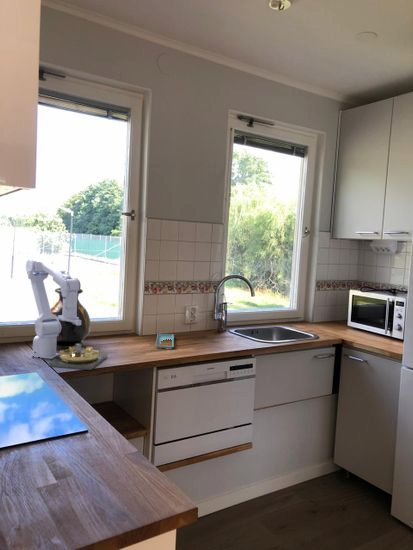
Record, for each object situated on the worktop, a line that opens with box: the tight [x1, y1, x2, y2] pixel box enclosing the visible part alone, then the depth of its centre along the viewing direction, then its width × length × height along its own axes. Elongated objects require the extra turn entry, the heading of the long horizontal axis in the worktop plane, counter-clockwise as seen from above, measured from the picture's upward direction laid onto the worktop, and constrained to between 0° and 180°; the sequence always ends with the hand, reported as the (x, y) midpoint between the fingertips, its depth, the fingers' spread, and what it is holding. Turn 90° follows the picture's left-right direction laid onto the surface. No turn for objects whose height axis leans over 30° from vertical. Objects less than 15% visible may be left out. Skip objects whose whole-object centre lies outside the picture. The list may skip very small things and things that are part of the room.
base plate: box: [48, 353, 108, 371], centre depth 192 cm, size 18×20×2 cm
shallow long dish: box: [155, 333, 175, 349], centre depth 235 cm, size 26×9×2 cm, turn 4°
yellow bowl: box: [59, 343, 100, 363], centre depth 192 cm, size 16×16×7 cm
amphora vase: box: [50, 287, 91, 351], centre depth 215 cm, size 22×22×28 cm
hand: (68, 339), depth 187 cm, fingers closed
